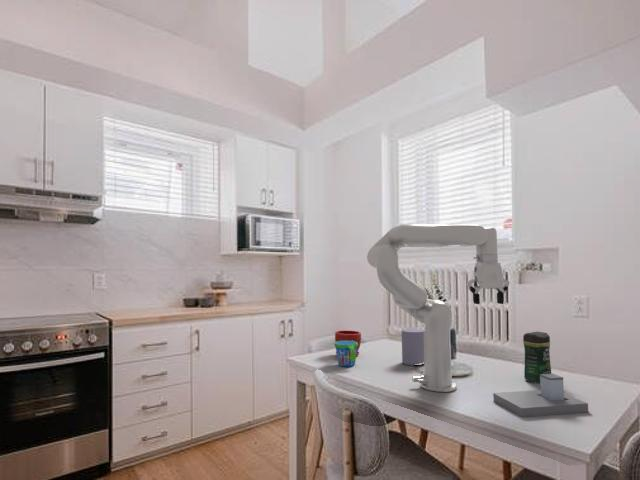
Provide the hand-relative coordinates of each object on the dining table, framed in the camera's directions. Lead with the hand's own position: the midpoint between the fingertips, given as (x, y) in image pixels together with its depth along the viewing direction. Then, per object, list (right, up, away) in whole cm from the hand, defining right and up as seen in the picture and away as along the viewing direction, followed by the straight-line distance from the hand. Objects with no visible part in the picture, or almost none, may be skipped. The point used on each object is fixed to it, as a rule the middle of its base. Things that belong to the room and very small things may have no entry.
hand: (488, 303), depth 147 cm
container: (-22, -33, +29) cm, 49 cm away
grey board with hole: (+4, -28, -27) cm, 39 cm away
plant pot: (-51, -34, +45) cm, 76 cm away
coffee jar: (+19, -30, 0) cm, 36 cm away
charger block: (+9, -28, -26) cm, 39 cm away
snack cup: (-53, -33, +27) cm, 68 cm away
